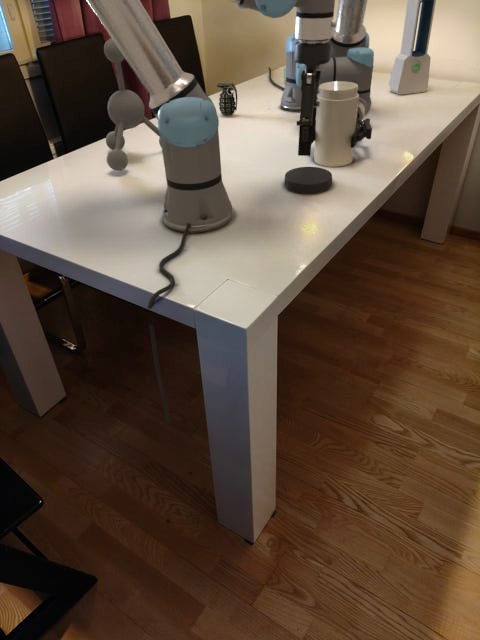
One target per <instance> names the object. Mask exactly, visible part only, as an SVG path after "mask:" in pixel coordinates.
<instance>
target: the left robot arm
mask: <svg viewBox="0 0 480 640" xmlns="http://www.w3.org/2000/svg"><path fill="white" fill-rule="evenodd" d="M228 1H230V2H231V3H235V4H236V5H237V6H238V8H240V9H249V10H254V11H256V12H259V13H261V14H262V15H263V16H264V17H266V18H267V17H268V18H271V19H277V18H282V17H284V16H286V15H288V14H289V13H290V12H291V11H292V10H293V9H294V8H295V9H296V10H295V11H296V12H295V13H296V14H295V23H294V25H295V26H294V27H295V28H294V33H295V38H296V39H297V40H298V41H297V42H296V43H295V53H294V60H295V62H296V63H299V64H305V65H306V68H305V71H302V74H301V82H302V86H301V94H302V99H301V111H300V112H299V113H300V114H299V120H296V126H297V127H298V126H299V129H298V147H297V155H298V156H301V157H303V156H305V157H311V154H312V144H311V141H312V137H314V136H315V122H316V109H317V107H319V105H320V102H317V100H318V98H317V91H318V87H319V82H320V77H321V71H319V65H320V64H326V63H328V62H329V61H330V57H331V45H332V44H331V42H330V41H328V40H330V39H331V38H332V27H336V21H334V16H335V6H336V5H335V4H336V0H228ZM86 2H87V3H88V5H89V7H90V8H91V9H92V11H93V12H94V14H95V15H96V17H97V18H98V20H99V22H100V23H101V24H102V26H103V27H104V29H105V30H106V32H107V33H108V35H109V36H110V39H111V38H112V39H113V41H114V42H115V44H116V45H117V47H118V48H119V50H120V51H121V53H122V54H123V56H124V57H125V58H124V60H125V61H126V62H127V63H128V65H129V66H130V68H131V70H132V71H133V72H134V74H135V75H136V77H137V79H138V80H139V81H140V83H141V84H142V86H143V87H144V89H145V91H146V92H147V93H148V95H149V102H148V108H149V109H150V111H151V112H152V113H153V115H154V116H155V118H156V119H157V123H156V124H157V125H156V127H157V128H158V131H159V133H160V137H159V138H160V139H161V146H162V148H161V150H162V151H161V153H162V159H163V165H164V166H163V168H164V173H165V180H166V190H165V191H166V192H165V196H164V203H163V207H162V218H163V222H164V224H165V226H167V227H168V228H169V229H171V230H173V231H177V232H180V233H183V234H182V237H181V241H180V244H179V246H178V247H177V249H176V250H175V251H173V252H172V253H170V254H168V255H166V256H164V257H163V258H161V260H160V261H159V265H158V267H159V271H160V272H161V273H162V274H164V275H165V276H166V277H168V279H169V280H170V283H169V284H168V285H167V286H165V287H163V288H160V289H158V290H157V291H155V292H154V293H153V294H152V296H151V297H150V298H149V301H148V305H147V309H148V310H151V309H152V308H153V305H154V303H155V300H156V299H157V298H158V297H159V296H160V295H162V294H163V293H165V292H168V291H169V290H171V289H173V287H174V286H175V283H176V280H175V277H174V275H172V274H171V273H170V272H169V271H167V270H166V269H165V267H164V264H165V263H166V262H167V261H169V260H171V259H173V258H174V257H176V256H177V255H179V253H181V251H182V250H183V248H184V247H185V243H186V239H187V236H188V233H190V234H191V233H192V234H193V233H194V234H195V233H196V234H197V233H205V232H206V233H207V232H210V231H215V230H216V229H220V228H222V227H224V226H226V225H227V224H228V223H230V221H231V220H232V218H233V216H234V212H233V211H234V210H233V205H232V201H231V200H230V197H229V195H228V192H227V190H226V187H225V184H224V182H223V175H222V174H223V173H222V161H221V147H220V146H221V145H220V134H219V127H220V126H219V125H220V122H219V121H220V119H219V116H218V113H217V108H216V106H215V103H214V101H212V100H213V99H211V97H209V96H208V94H207V93H205V92H204V90H203V88H202V86H201V85H200V83H199V82H198V80H197V79H196V77H195V75H194V74H192V73H189V72H185V71H183V70H182V68H181V66H180V65H179V63H178V61H177V59H176V58H175V56H174V54H173V53H172V51H171V50H170V48H169V46H168V44H167V43H166V41H165V39H164V38H163V36H162V35H161V33H160V31H159V30H158V28H157V25H155V23H154V22H153V20H152V18H151V16H150V15H149V13H148V12H147V10H146V9H145V7H144V5H143V3H142V2H141V0H86ZM314 106H315V107H314ZM161 146H160V147H161ZM148 327H149V333H150V341H151V349H152V354H153V355H152V357H153V363H154V368H155V373H156V379H157V384H158V386H159V388H158V389H159V392H160V393H159V394H160V396H161V401H162V406H163V410H164V411H163V412H164V416H165V420H166V423H167V424H168V425H169V424H170V423H171V417H170V411H169V407H168V402H167V398H166V397H167V396H166V393H165V389H164V384H163V378H162V375H161V368H160V363H159V355H158V350H157V340H156V333H155V332H156V331H155V325H152V324H148Z"/></svg>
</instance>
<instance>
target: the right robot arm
mask: <svg viewBox="0 0 480 640" xmlns="http://www.w3.org/2000/svg"><path fill="white" fill-rule="evenodd" d="M337 3H338V4H337V10H336V17H335V22H336V27H332V38H331V39H330V40H328V41H330V42H331V44H332V45H331V57H330V61H329V62H328V63H326V64H320V65H319V71H321V77H320V82H319V86H320V85H321V84H323V83H326V82H334V81H345V82H352V83H356V84H357V85H358V90H357V93H358V94H359V99H358V109H357V120H356V130H355V132H354V134H353V135H352V139H351V148H354V149H355V147H356V145H357V143H358V142H362V141H363V140H364V138H366V140H371V139H372V134H373V127H372V125H371V119H370V118H365V117H366V116H367V115H368V114H369V111H370V110H371V107H372V98H371V88H372V80H373V79H372V78H373V72H374V63H375V62H374V61H375V52H374V50H373V49H371V48H370V34H369V33H368V32H367V29H366V26H364V21H365V15H366V11H367V10H366V9H367V4H368V0H338V2H337ZM297 41H298V40H297V39H296V38H295V32H294V33H292V34H290V35H289V36H288V37H287V40H286V47H285V48H286V49H285V54H286V59H285V68H286V81H285V85H284V87H283V86H281V85H279V84H278V83H276V82H275V81H274V80H273V79H272V69H271V67H270V66H268V78H269V81H270V82H271V84H273V85H274V86H275V87H277V88H279V89H281V90H283V93H282V95H281V99H280V108H281V109H282V110H284V111H288V112H294V113H295V112H296V113H300V111H301V99H302V94H301V86H302V82H301V74H302V71H305V68H306V65H305V64H299V63H296V62H295V60H294V53H295V43H296V42H297ZM318 94H319V87H318V91H317V95H318ZM314 107H315V106H314ZM315 128H316V122H315ZM314 143H315V136H314V137H312V141H311V145H312V144H314Z"/></svg>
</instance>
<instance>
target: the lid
mask: <svg viewBox="0 0 480 640" xmlns="http://www.w3.org/2000/svg"><path fill="white" fill-rule="evenodd" d="M332 185H333V174H332V172H331V171H330V170H328V169H326V168H323V167H319V166H299V167H295V168H291V169H290V170H287V172H285V174H284V187H285V188H286V189H287V190H288V191H289V192H292V193H295V194H300V195H315V194H321V193H324V192H327V191H329V190H330V189H331V188H332Z"/></svg>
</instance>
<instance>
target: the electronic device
mask: <svg viewBox="0 0 480 640" xmlns="http://www.w3.org/2000/svg"><path fill="white" fill-rule="evenodd" d="M436 3H437V0H407V3H406V9H405V10H406V11H405V17H404V24H403V31H402V39H401V46H400V52H399V53H398V54H397V56H396V57H395V58H394V62H393V66H392V70H391V73H390V77H389V81H388V88H389V90H390V91H391V92H392V93H394V94H397V95H399V96H403V95H410V94H418V93H425V92H426V91H427V90H428V88H429V79H430V70H431V69H430V68H431V56H430V55H429V53H428V50H429V45H430V39H431V32H432V27H433V21H434V16H435V10H436Z"/></svg>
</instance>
